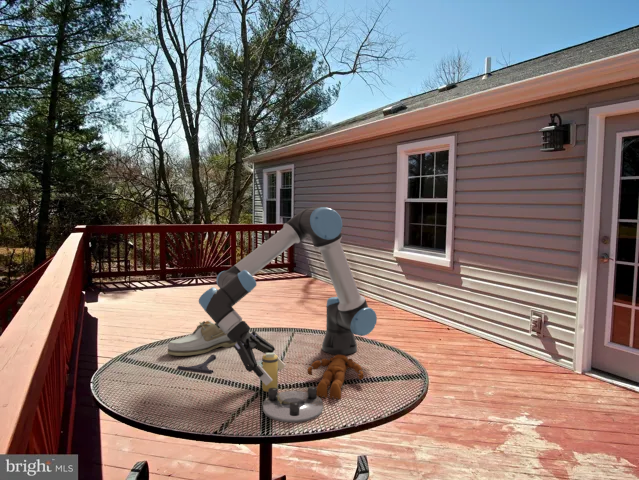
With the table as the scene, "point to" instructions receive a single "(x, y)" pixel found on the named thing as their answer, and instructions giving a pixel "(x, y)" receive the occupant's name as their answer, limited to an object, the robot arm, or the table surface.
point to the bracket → (200, 366)
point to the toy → (334, 374)
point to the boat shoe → (200, 340)
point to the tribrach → (293, 405)
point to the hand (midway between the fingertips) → (276, 375)
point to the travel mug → (270, 370)
